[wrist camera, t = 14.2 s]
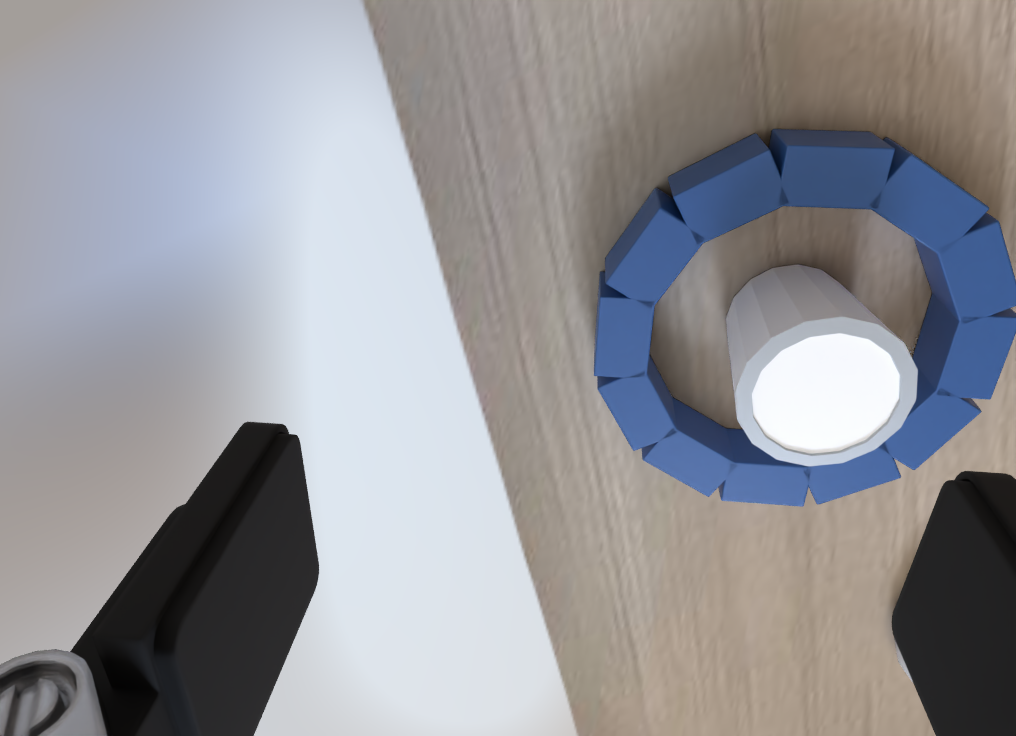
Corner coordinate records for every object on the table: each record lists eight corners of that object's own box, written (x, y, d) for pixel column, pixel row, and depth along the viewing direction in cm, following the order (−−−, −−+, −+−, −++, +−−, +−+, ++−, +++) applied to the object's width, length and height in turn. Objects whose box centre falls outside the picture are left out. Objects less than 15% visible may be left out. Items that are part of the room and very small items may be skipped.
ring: (586, 456, 40) (585, 491, 38) (610, 124, 32) (611, 139, 29) (923, 479, 39) (946, 517, 36) (1042, 136, 30) (1084, 154, 28)
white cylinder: (894, 323, 35) (956, 403, 29) (770, 407, 38) (802, 495, 32) (805, 220, 33) (851, 282, 27) (682, 316, 36) (698, 391, 30)
